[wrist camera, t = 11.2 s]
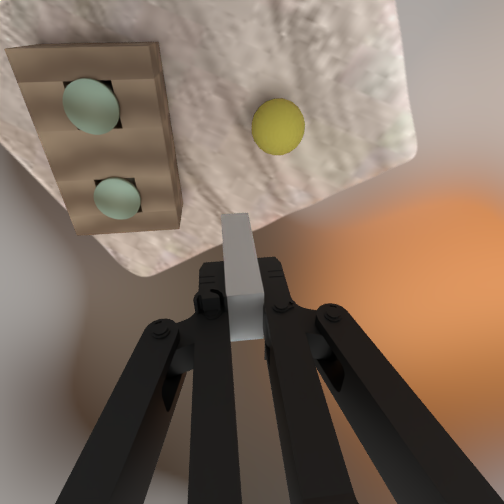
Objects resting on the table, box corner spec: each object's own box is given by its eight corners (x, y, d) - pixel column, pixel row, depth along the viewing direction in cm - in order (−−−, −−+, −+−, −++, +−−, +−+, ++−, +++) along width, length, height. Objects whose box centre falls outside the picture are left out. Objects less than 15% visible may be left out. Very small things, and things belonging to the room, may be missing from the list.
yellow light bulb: (236, 116, 45) (242, 136, 37) (271, 77, 43) (285, 90, 35) (268, 148, 49) (280, 173, 41) (302, 114, 46) (322, 134, 38)
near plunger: (79, 70, 39) (54, 79, 33) (126, 69, 40) (110, 78, 33) (93, 118, 43) (72, 135, 36) (136, 116, 43) (123, 133, 37)
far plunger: (104, 158, 46) (87, 181, 39) (145, 156, 46) (134, 178, 40) (115, 194, 49) (100, 220, 43) (152, 192, 50) (144, 218, 43)
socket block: (38, 44, 38) (4, 48, 32) (158, 41, 39) (148, 45, 33) (94, 208, 51) (77, 235, 45) (183, 203, 52) (179, 228, 46)
